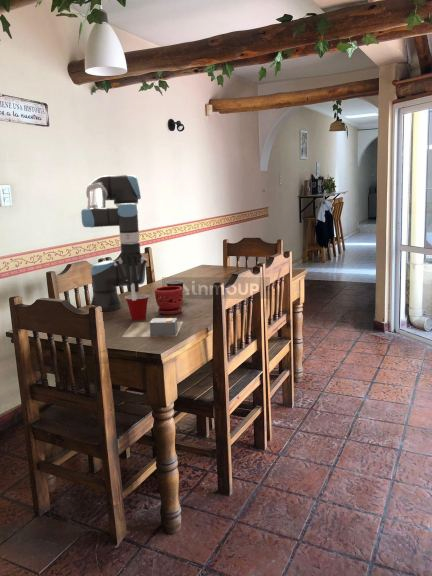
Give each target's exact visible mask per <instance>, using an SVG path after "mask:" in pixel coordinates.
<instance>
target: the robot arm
mask: <svg viewBox="0 0 432 576" xmlns="http://www.w3.org/2000/svg"><path fill="white" fill-rule="evenodd" d="M139 186H140V185H139V181H138V178H137V176H136V175H134V174H122V175H120V174H119V175H117V174H116V175H102V176H99V177H96V178H95V179H94V180H92V181H91V182H90V183H89V184H88V186H87V188H86V193H85V194H86V198H87V208H83V209H82V210H81V213H80V214H81V215H80V217H81V223H82V226H83V228H103V227H118V230H119V241H120V252H121V253H120V254H121V255H120V257H119V259H117V260H104V261H99V262H96V263H94V264H92V265H91V267H90V271H91V272H90V276H91V283H92V297H91V301H90V306H91V305H95V306H101V307H102V310H103V311H102V312H110V311H116V310H118V309H121V308H122V305H123V304H122V301H121V298H120V295H119V293H118V288H117V287H127V286H128V292H129V293H131V294H130V295H132V301H136V299H137V294H138V292H139V290H140V288H139V285H143V284H144V283H145V280H146V279H145V278H146V264H147V263H148V259H147V258H144V257H143V255H142V254H141V244H140V241H141V240H140V232H139V231H140V230H139V215H138V214H139V213H138V207H137V205H138V204H139V200H140V199H141V191H140V187H139ZM106 201H113V204H114V206H116V207H106Z"/></svg>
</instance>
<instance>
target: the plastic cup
mask: <svg viewBox="0 0 432 576" xmlns="http://www.w3.org/2000/svg"><path fill="white" fill-rule="evenodd" d="M149 297H150V295H149V294H144V293H143V294H140V293H139V294H138V293H137V299H136V301H132V295H131V294H130V295H126V296H124V299H125V300H126V303H127V306H128V310H129V315H130V318H131V320H132V321H143V320H145V321H146V319H147V318H146V317H147V308H148V301H149Z"/></svg>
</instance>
